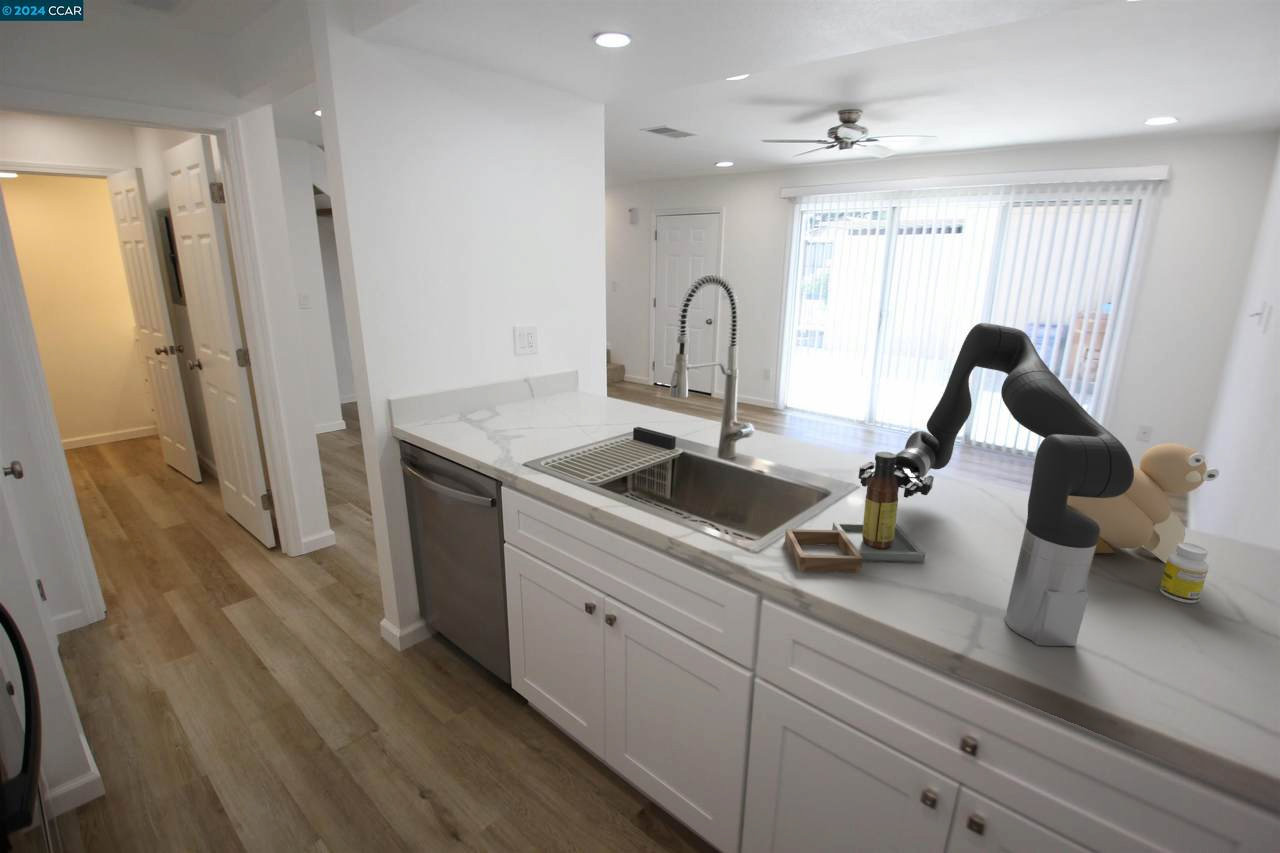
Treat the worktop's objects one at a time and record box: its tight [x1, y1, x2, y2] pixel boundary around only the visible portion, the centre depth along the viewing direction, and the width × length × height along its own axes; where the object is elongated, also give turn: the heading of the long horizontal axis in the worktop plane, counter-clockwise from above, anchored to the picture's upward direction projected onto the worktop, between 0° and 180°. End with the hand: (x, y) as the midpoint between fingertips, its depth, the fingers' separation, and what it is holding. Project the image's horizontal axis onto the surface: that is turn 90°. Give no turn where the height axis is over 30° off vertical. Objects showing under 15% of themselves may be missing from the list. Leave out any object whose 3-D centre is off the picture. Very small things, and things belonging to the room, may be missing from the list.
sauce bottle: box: [862, 451, 900, 549], centre depth 119 cm, size 6×6×20 cm
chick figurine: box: [1067, 442, 1220, 564], centre depth 120 cm, size 30×28×23 cm
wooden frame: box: [784, 528, 864, 573], centre depth 117 cm, size 12×12×3 cm
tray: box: [831, 521, 926, 564], centre depth 122 cm, size 14×14×2 cm
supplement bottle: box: [1158, 542, 1210, 604], centre depth 104 cm, size 5×5×10 cm
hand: (884, 487), depth 119 cm, fingers open, 8 cm apart
